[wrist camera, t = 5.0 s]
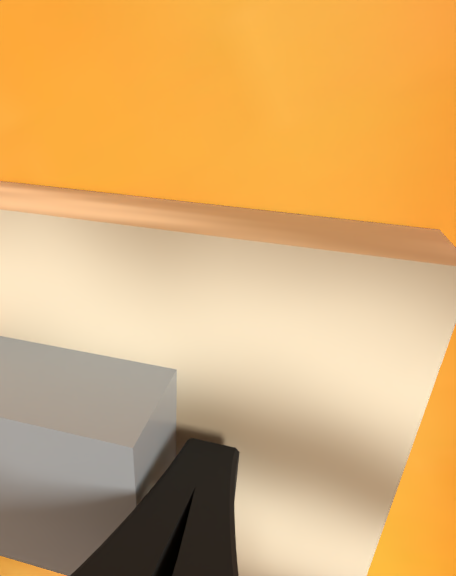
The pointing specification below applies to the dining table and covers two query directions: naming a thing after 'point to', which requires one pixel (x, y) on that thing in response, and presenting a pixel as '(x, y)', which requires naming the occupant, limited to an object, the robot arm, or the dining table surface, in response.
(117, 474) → the tile slate
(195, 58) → the dining table surface
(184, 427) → the board
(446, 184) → the dining table surface
